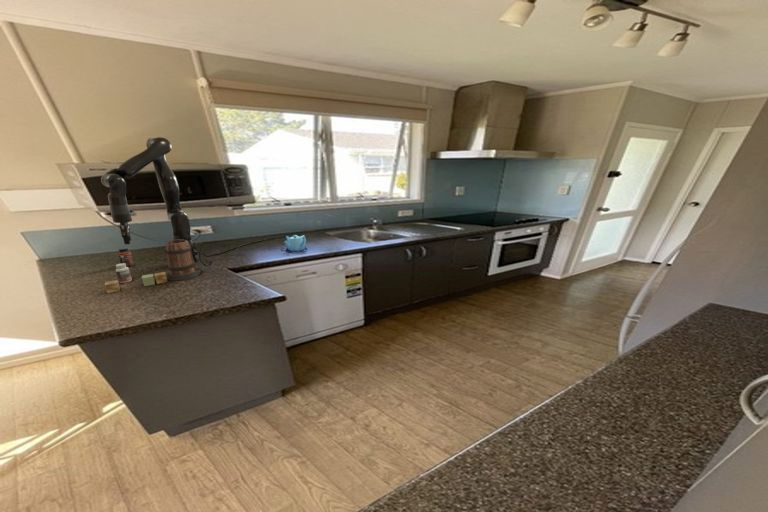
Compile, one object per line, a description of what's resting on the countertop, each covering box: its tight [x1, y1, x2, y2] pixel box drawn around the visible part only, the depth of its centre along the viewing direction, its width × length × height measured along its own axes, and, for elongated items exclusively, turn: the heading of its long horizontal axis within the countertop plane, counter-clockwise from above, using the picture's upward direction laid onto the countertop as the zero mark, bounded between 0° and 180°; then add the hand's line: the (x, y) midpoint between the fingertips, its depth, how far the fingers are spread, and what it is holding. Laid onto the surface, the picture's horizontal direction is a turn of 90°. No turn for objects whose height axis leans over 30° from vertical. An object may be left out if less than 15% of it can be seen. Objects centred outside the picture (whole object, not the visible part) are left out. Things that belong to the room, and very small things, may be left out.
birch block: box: [104, 279, 121, 294], centre depth 143 cm, size 5×5×5 cm
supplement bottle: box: [117, 247, 135, 268], centre depth 175 cm, size 6×6×11 cm
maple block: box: [154, 271, 168, 285], centre depth 155 cm, size 5×5×5 cm
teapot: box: [283, 234, 307, 252], centre depth 215 cm, size 15×15×11 cm
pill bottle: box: [115, 263, 133, 284], centre depth 154 cm, size 5×5×10 cm
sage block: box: [141, 273, 156, 287], centre depth 152 cm, size 5×5×5 cm
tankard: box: [164, 239, 213, 281], centre depth 164 cm, size 24×17×20 cm
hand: (128, 242), depth 156 cm, fingers open, 8 cm apart
